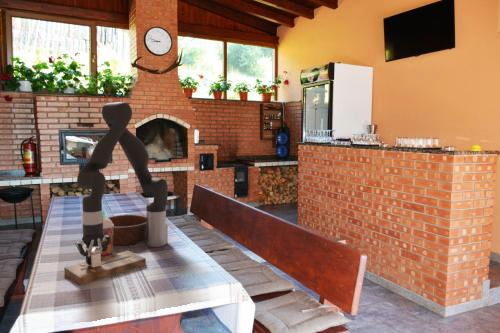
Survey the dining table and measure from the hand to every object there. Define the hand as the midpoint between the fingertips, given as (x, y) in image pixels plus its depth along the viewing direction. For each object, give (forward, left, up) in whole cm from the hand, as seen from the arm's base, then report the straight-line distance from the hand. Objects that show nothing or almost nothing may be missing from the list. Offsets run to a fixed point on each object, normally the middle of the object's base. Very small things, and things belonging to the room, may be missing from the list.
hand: (93, 263), depth 155 cm
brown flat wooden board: (-5, 0, -4) cm, 7 cm away
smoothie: (-13, -17, -4) cm, 22 cm away
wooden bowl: (-31, -30, -5) cm, 44 cm away
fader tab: (0, 0, -1) cm, 1 cm away
